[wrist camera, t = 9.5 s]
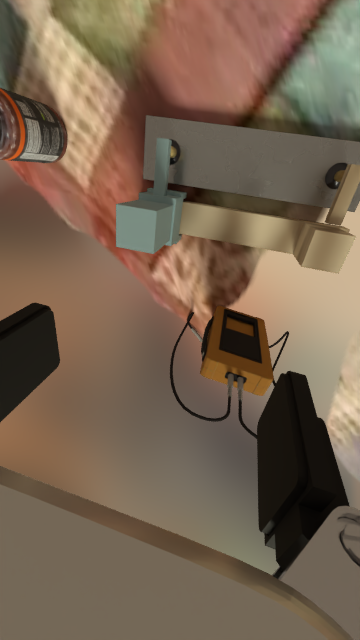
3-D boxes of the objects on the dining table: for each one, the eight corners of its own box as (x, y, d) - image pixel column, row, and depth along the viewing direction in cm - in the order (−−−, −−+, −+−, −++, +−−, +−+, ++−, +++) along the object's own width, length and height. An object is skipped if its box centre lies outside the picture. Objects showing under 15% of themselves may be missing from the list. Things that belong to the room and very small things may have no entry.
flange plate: (378, 146, 25) (385, 144, 24) (350, 210, 28) (354, 212, 27) (149, 117, 28) (145, 114, 27) (146, 178, 31) (142, 178, 30)
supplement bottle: (20, 144, 32) (-74, 129, 23) (31, 91, 29) (-72, 48, 20) (61, 174, 33) (-14, 172, 23) (76, 125, 30) (-3, 99, 20)
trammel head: (192, 147, 28) (165, 129, 18) (181, 238, 33) (154, 264, 23) (158, 142, 28) (113, 122, 19) (152, 233, 34) (114, 256, 24)
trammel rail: (367, 171, 26) (404, 169, 20) (330, 257, 31) (351, 275, 25) (148, 141, 29) (123, 131, 23) (143, 223, 34) (122, 233, 28)
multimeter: (178, 347, 42) (134, 460, 25) (193, 295, 37) (152, 393, 20) (262, 375, 42) (276, 512, 25) (290, 327, 36) (332, 457, 19)
